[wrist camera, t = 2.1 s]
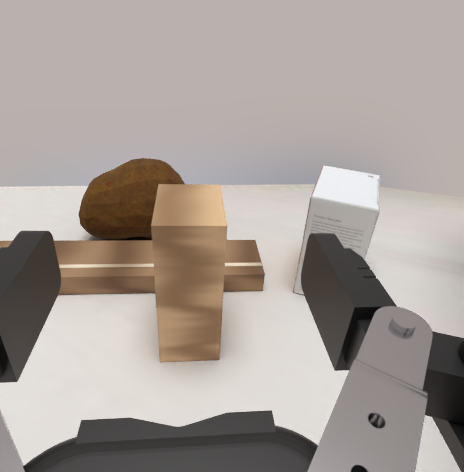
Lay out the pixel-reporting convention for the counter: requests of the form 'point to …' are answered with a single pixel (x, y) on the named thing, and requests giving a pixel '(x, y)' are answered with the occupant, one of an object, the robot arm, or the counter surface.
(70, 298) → the counter surface
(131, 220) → the potato
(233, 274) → the walnut board
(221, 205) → the tan block
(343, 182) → the small box
